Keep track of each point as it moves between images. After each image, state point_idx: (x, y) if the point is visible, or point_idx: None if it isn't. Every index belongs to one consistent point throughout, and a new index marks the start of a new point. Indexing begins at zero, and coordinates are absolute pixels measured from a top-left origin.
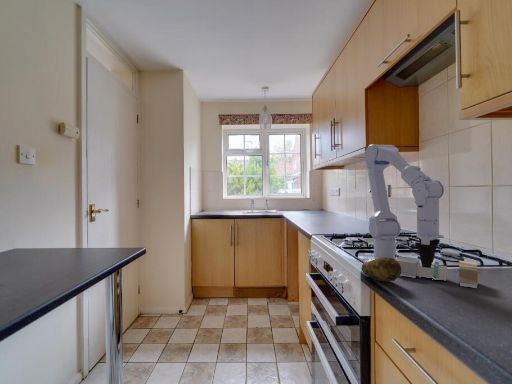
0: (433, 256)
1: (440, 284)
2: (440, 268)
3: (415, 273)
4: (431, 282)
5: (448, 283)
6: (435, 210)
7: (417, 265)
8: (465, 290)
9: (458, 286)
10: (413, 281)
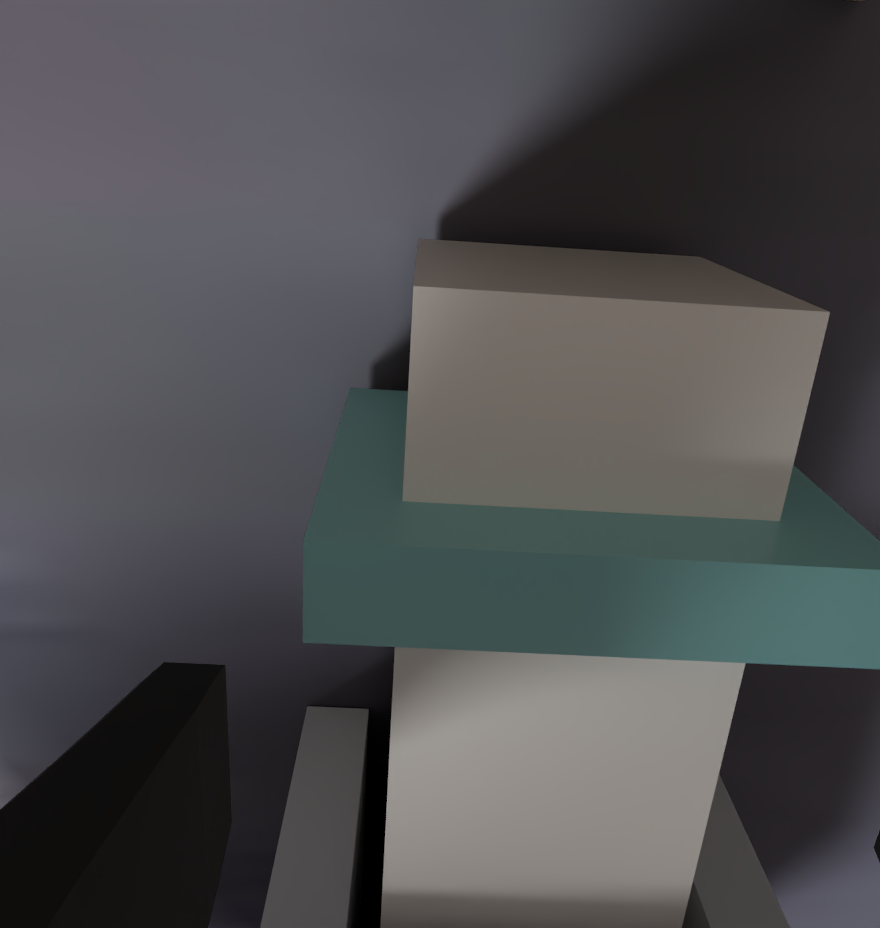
0: (160, 793)
1: (860, 360)
2: (785, 465)
3: (727, 805)
4: None
5: (720, 213)
6: None
7: (677, 914)
8: None
9: (863, 17)
10: (856, 744)
